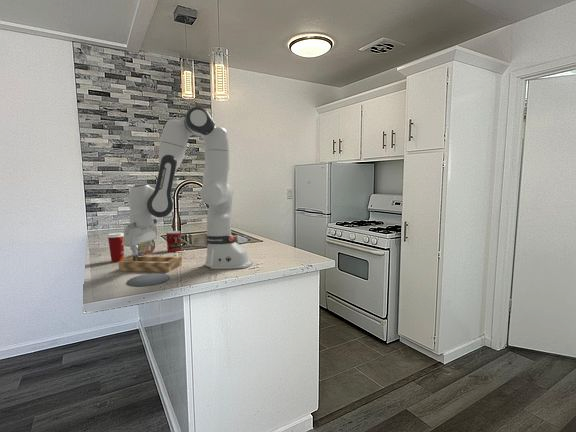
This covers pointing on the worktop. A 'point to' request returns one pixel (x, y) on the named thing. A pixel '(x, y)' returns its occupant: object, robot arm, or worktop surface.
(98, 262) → the worktop surface
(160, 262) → the oak link
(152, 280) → the slate mat
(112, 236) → the paper cup
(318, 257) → the worktop surface
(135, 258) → the grey metal rod
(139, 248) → the tin
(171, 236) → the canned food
